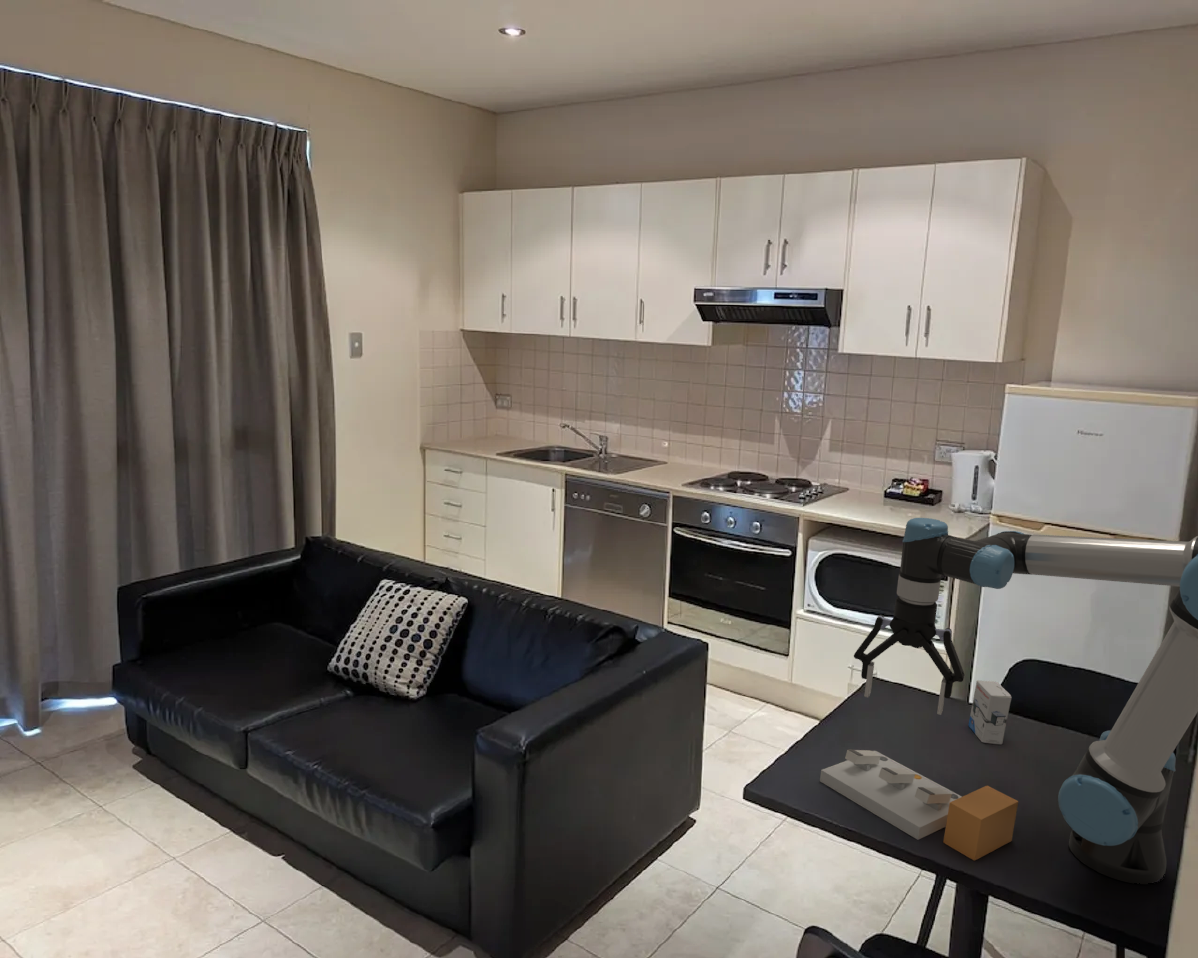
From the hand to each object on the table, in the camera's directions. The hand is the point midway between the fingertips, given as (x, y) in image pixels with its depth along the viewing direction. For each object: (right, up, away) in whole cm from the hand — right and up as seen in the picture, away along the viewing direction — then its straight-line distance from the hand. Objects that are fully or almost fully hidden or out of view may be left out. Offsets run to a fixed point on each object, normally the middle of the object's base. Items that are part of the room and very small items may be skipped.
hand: (903, 703), depth 174 cm
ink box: (+30, -16, +32) cm, 47 cm away
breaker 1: (-5, -13, +8) cm, 16 cm away
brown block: (+10, -22, -11) cm, 27 cm away
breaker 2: (-1, -15, +1) cm, 15 cm away
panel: (-1, -19, +2) cm, 19 cm away
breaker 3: (+4, -16, -5) cm, 17 cm away
